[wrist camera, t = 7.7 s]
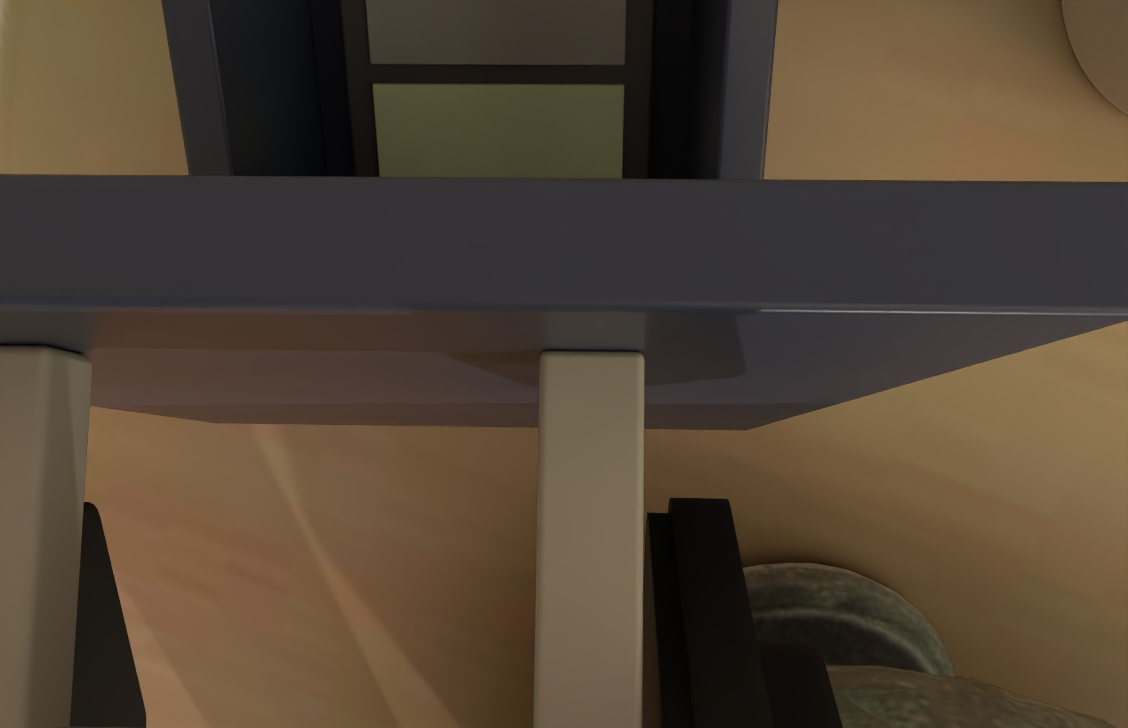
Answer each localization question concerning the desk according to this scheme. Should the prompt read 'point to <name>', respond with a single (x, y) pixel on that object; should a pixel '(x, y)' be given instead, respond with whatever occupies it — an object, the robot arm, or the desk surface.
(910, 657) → the bowl
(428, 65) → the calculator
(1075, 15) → the cup
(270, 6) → the dark blue open box
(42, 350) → the cover
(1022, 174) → the desk surface
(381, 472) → the desk surface
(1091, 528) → the desk surface
